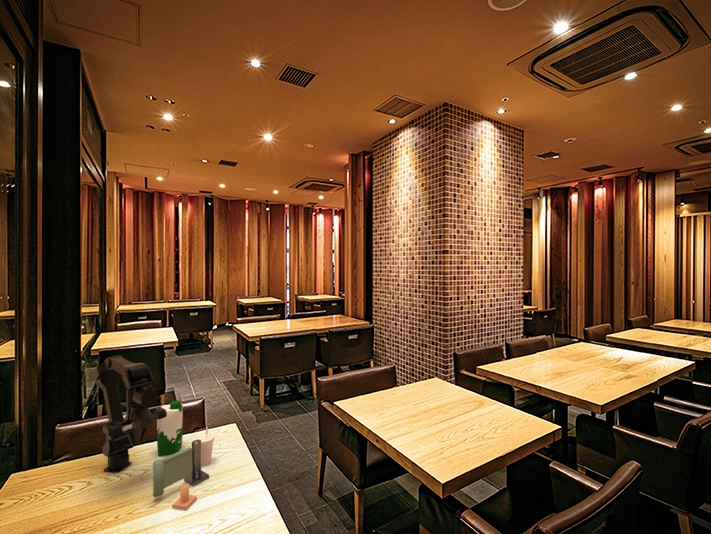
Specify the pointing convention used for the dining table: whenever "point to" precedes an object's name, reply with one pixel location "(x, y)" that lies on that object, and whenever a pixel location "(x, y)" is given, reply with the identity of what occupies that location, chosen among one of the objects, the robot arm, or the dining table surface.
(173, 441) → the milk carton
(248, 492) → the dining table surface
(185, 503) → the post
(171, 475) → the gate
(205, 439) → the smoothie
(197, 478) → the hinge post
